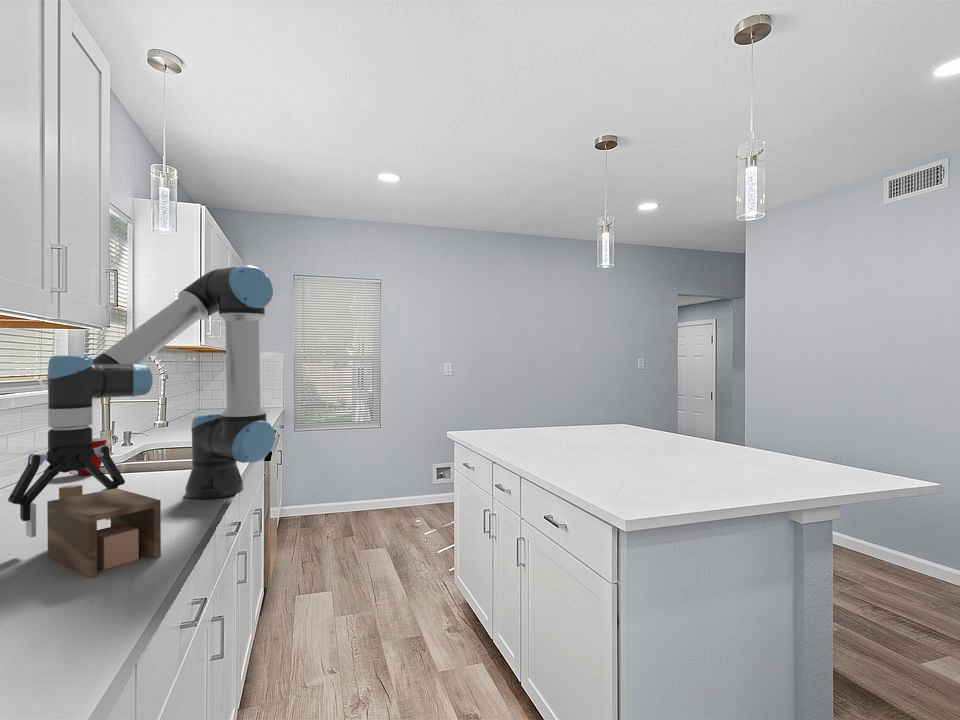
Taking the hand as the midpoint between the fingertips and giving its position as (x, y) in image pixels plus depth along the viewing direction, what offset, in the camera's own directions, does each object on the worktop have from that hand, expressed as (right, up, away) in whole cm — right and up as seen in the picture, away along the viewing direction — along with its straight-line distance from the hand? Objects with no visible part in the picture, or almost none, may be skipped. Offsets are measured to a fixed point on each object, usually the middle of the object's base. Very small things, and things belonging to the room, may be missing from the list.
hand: (70, 527), depth 115 cm
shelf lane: (+13, -4, -8) cm, 15 cm away
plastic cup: (-45, -3, +67) cm, 81 cm away
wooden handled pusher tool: (+8, -3, -5) cm, 11 cm away
